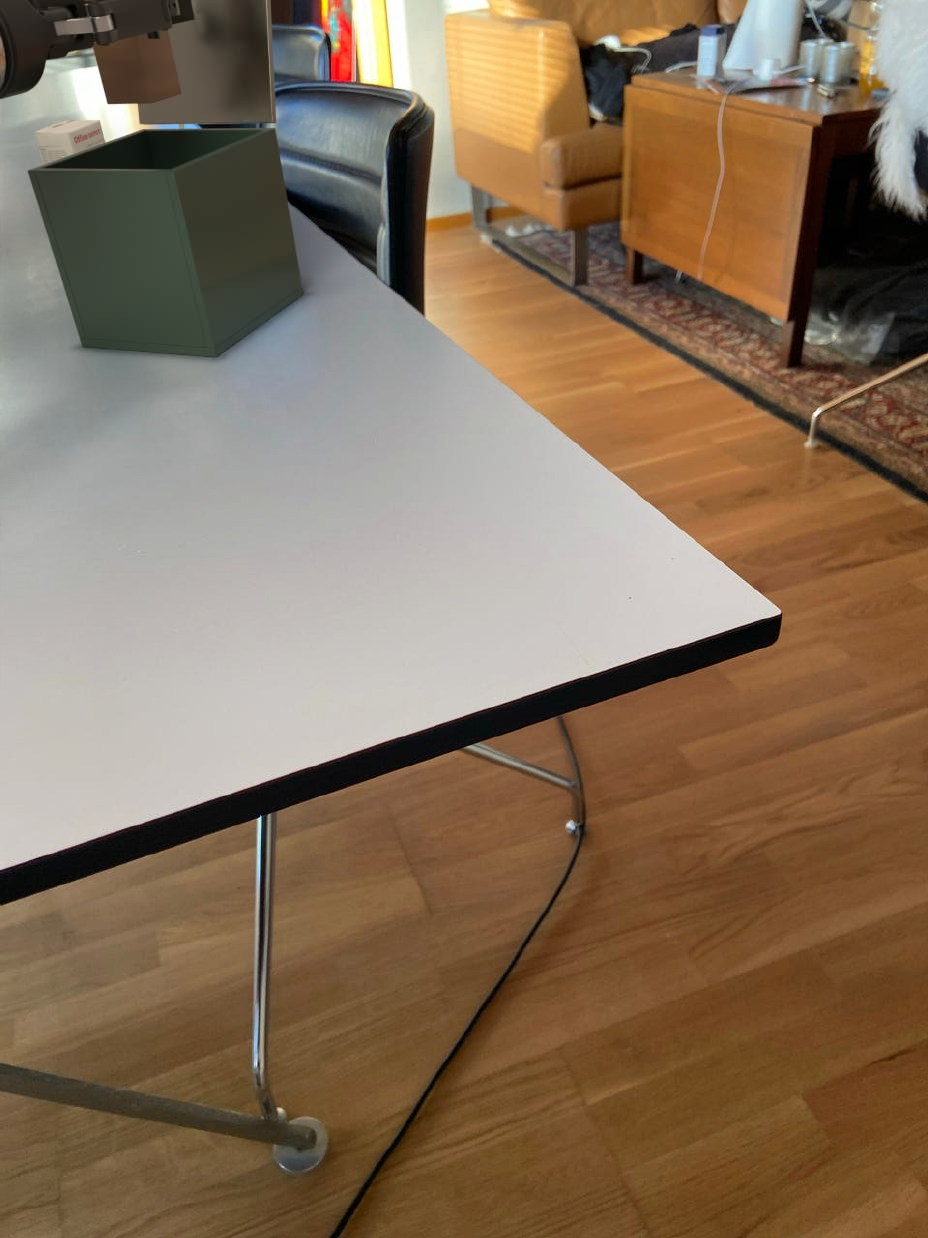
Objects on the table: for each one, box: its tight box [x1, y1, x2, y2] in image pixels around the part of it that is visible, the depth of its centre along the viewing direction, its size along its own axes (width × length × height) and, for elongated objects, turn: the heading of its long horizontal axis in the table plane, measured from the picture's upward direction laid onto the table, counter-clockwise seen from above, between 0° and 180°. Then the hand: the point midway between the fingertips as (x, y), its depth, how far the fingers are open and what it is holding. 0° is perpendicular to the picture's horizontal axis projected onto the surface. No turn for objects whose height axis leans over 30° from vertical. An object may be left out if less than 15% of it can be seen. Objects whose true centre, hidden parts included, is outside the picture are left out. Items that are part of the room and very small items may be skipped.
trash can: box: [27, 127, 304, 358], centre depth 91 cm, size 17×15×15 cm
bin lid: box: [137, 0, 277, 126], centre depth 89 cm, size 18×15×1 cm
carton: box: [84, 0, 181, 105], centre depth 80 cm, size 4×4×11 cm
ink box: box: [33, 119, 106, 165], centre depth 125 cm, size 9×5×12 cm, turn 170°
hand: (161, 2), depth 84 cm, fingers closed on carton, 4 cm apart
